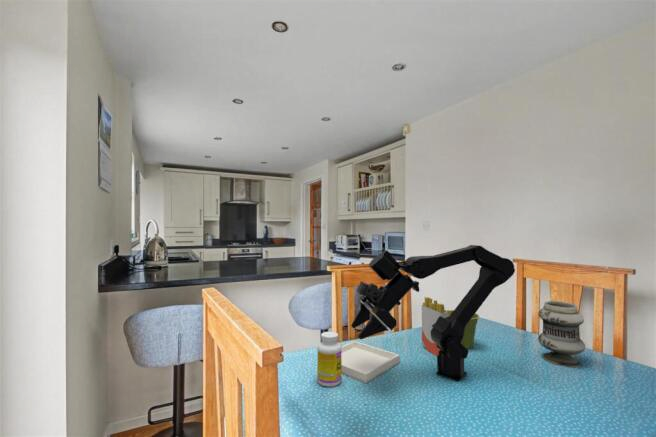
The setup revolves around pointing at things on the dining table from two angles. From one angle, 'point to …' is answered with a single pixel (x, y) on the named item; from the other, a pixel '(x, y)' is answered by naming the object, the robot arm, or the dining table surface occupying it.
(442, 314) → the french fries container
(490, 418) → the dining table surface
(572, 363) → the apothecary jar
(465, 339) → the plant pot
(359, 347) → the tray
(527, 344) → the dining table surface
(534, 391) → the dining table surface
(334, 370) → the supplement bottle
